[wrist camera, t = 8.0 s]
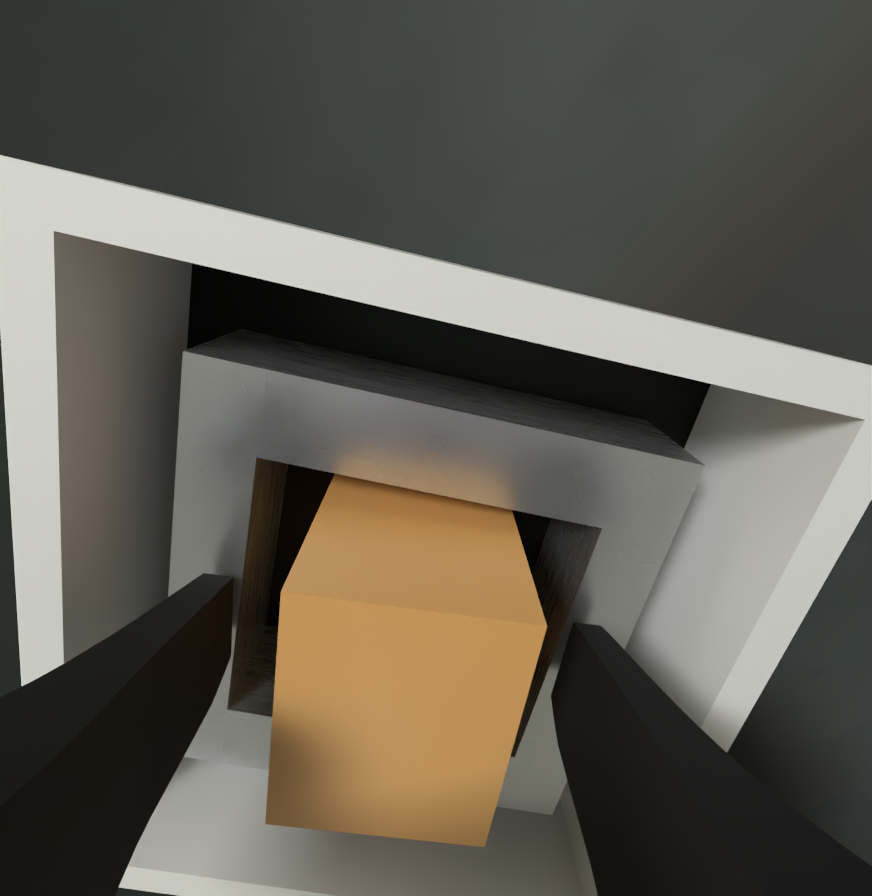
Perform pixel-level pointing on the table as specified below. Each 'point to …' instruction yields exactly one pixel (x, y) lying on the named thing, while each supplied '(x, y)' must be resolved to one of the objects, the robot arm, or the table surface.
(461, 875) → the walled box
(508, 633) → the light brown rectangular block
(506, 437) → the inlet socket
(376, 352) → the table surface
